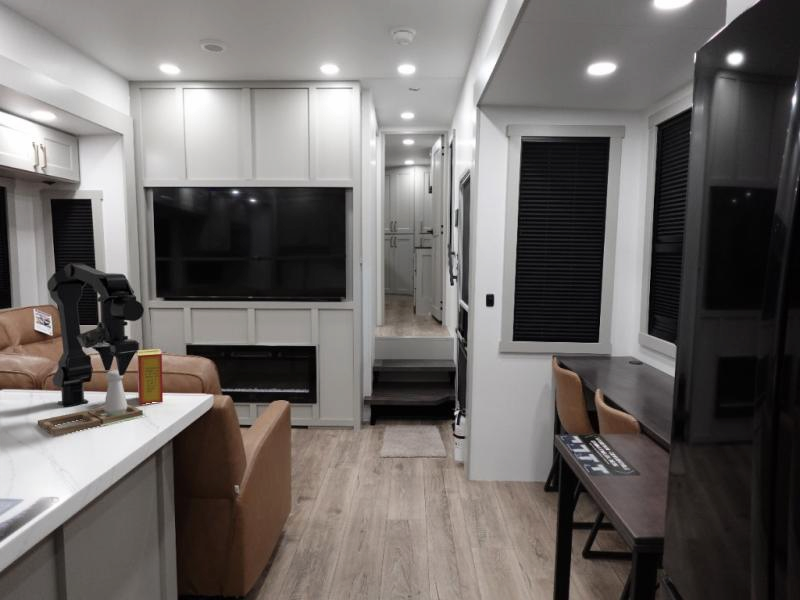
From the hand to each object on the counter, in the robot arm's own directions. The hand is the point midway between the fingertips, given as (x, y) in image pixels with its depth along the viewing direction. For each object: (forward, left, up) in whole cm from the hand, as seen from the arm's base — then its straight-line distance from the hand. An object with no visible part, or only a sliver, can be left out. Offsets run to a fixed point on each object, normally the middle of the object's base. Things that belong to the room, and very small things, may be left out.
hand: (114, 372), depth 136 cm
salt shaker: (0, 0, -13) cm, 13 cm away
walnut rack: (-2, -6, -13) cm, 14 cm away
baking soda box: (-9, +14, -13) cm, 21 cm away
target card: (0, 0, -13) cm, 13 cm away
